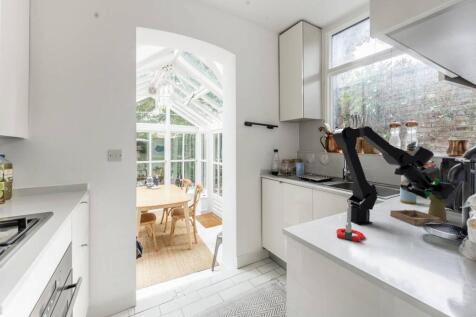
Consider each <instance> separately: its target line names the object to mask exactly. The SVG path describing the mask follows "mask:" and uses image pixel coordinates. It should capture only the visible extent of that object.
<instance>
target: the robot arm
mask: <svg viewBox="0 0 476 317" xmlns="http://www.w3.org/2000/svg"><path fill="white" fill-rule="evenodd" d="M359 138H361V139H363V140H364V141H365V142H366V143H368V144H369V145H370V146H371V147H372V148H374V149H375V150H377V151H378V152H379V153H380V154H381V155H382V157H383V160H385V162H386V163H387V164H388V165H390V166H399V167H398V168H397V167H395V170H394V175H395V176H396V175H397V176H401V175H403V176H404V177H405V178H406V179H405V180H404V181H403V182H402V183H401V182H400V183H401V184H400V183H399V188H400V187H401V188H402V189H403V190H406V191H407V192H410V193H413V194H415V195H416V196H418V197H420V198H422V199H425V200H427V199H428V198H429V196H428V195H427V194H426V192H425V190H430V191H431V193H432V195H433V196H435V198H437V199H439V200H440V201H442V202H444V204H447V205H450V204H451V198H450V195H451V194H452V193H453V192H454V191H455V190H456V187H455V185H453V183H450V182H449V183H448V182H442V181H441V182H437V184H434V183H435V182H436V180H435V179H436V178H438V177H441V176H442V175H443V173H442V172H441V170H440V168H439V167H431V166H430V167H429V166H428V167H425V166H426V165H428V163H429V161H430V160H432V158H434V156H435V154H434V152H433V151H431V150H429V149H427V148H425V147H423V146H416V147H415V148H414V150H413V151H411V153H409V152H407V151H406V150H404V149H402V148H400V147H396V146H394V145H392V144H391V143H390V142H389V141H387V139H385V138H383V137H382V136H381V135H379V134H378V133H377V132H376V131H375V130H373V128H372V127H371V126H368V125H366V126H360V127H358V128H357V127H355V128H353V127H351V126H346V127H339V128H336V129H335V130H334V131H333V133H332V139H333V141H334V142H335V144H336V146H338V148H339V149H340V150H341V152H342V153H343V157H344V160H345V163H346V165H347V168H348V171H349V174H350V178H351V181H352V183H353V184H352V189H351V190H352V194H351V195H350V196H349V197H348V198H347V199H346V201H347V203H348V200H349V201H351V223H354V224H356V225H358V226H362V225H370V224H373V221H370V220H371V219H370V215H371V214H370V212H371V211H372V210H373V209H374V206H375V204H376V201H377V200H378V195H379V193H378V190H377V189H376V185H375V184H374V183H370V182H368V180H367V178H366V175H365V174H366V173H365V172H364V168H363V165H362V163H361V160H360V157H359V153H358V151H357V148H356V147H357V146H356V145H357V141H358V139H359ZM370 210H371V211H370Z"/></svg>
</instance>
